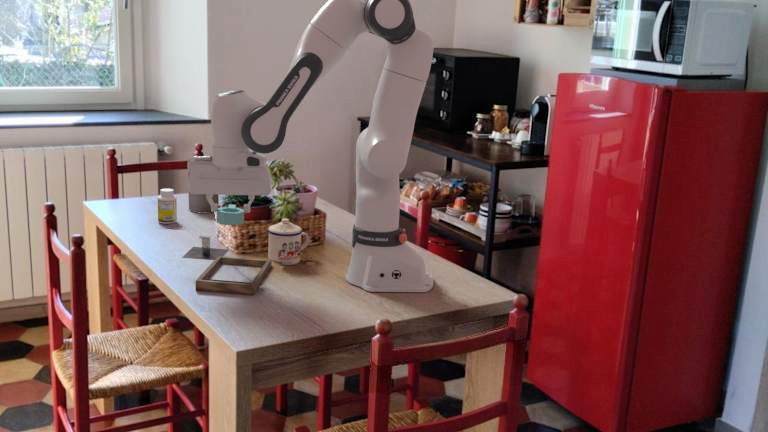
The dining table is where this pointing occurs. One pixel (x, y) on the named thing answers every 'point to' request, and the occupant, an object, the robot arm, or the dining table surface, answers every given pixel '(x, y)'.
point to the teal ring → (230, 215)
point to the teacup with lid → (286, 242)
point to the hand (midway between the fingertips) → (230, 211)
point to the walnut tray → (232, 286)
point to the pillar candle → (200, 201)
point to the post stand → (205, 251)
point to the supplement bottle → (167, 207)
